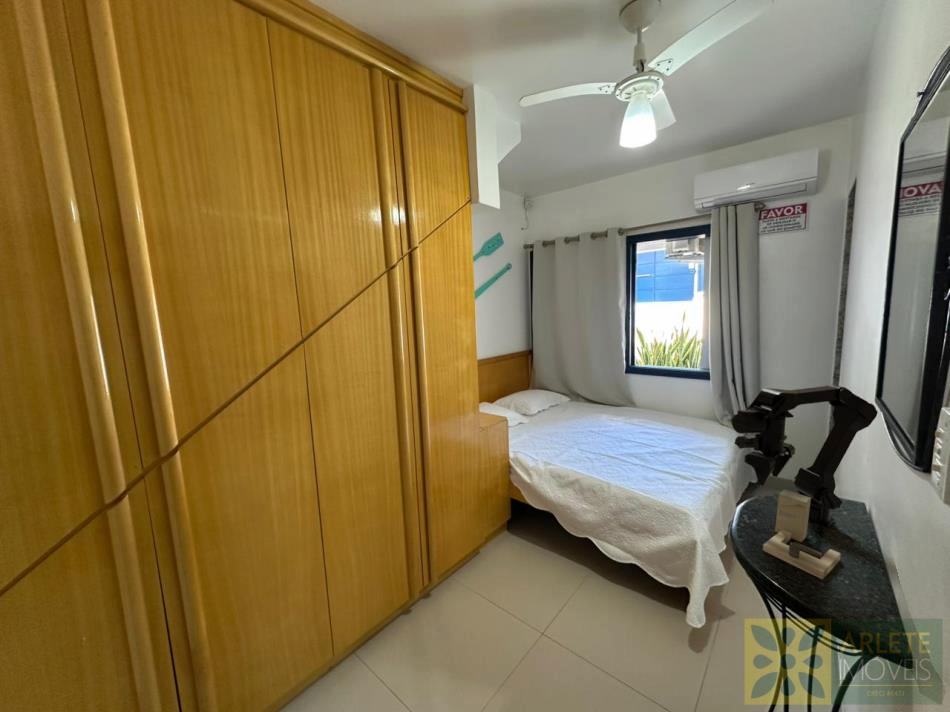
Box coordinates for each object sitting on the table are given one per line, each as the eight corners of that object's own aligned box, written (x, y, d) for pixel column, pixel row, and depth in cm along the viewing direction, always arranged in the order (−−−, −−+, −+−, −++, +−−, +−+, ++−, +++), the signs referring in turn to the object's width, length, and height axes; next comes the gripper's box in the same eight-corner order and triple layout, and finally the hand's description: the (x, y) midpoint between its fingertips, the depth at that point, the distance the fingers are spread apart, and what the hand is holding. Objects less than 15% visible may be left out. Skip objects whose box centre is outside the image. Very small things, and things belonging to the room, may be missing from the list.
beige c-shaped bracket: (781, 535, 102) (783, 517, 101) (839, 560, 91) (842, 540, 90) (762, 551, 96) (764, 532, 95) (822, 579, 85) (824, 558, 85)
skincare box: (774, 531, 103) (777, 493, 102) (779, 526, 106) (782, 488, 104) (802, 543, 98) (806, 502, 97) (807, 536, 101) (811, 497, 99)
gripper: (754, 418, 117) (751, 463, 119) (725, 430, 107) (723, 478, 109) (797, 427, 107) (793, 476, 109) (770, 441, 98) (767, 494, 100)
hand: (768, 480), depth 107 cm, fingers open, 9 cm apart
